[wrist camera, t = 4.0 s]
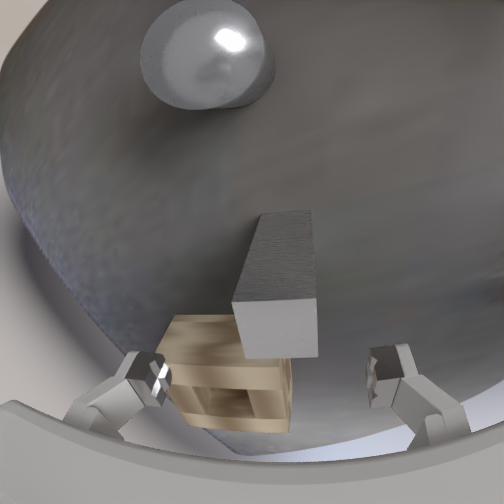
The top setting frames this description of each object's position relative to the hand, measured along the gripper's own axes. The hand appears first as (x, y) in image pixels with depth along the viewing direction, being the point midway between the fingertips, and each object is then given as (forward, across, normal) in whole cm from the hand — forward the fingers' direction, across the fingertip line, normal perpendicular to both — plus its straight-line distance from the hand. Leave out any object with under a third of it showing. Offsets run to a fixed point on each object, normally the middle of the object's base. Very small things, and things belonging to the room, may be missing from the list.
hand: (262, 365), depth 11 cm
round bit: (+12, +1, -12) cm, 17 cm away
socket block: (+12, +5, +12) cm, 18 cm away
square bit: (+12, -1, 0) cm, 12 cm away
